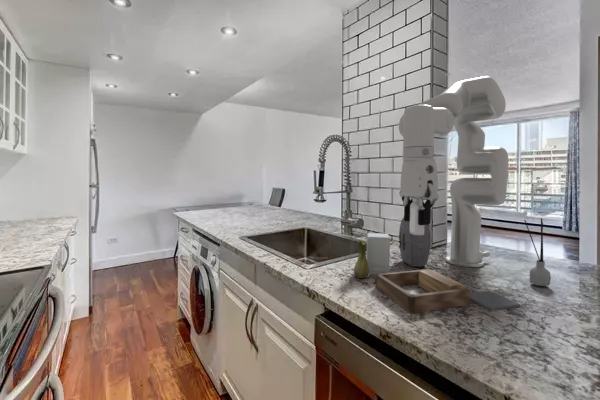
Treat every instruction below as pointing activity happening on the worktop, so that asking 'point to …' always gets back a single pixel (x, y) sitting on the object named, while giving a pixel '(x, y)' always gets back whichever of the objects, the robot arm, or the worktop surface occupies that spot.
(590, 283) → the worktop surface
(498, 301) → the slate mat
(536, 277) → the reed diffuser
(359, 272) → the fennel bulb
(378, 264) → the supplement box
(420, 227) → the eye dropper bottle
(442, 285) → the wooden block
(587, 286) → the worktop surface
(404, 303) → the walnut rack
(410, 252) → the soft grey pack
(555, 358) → the worktop surface
